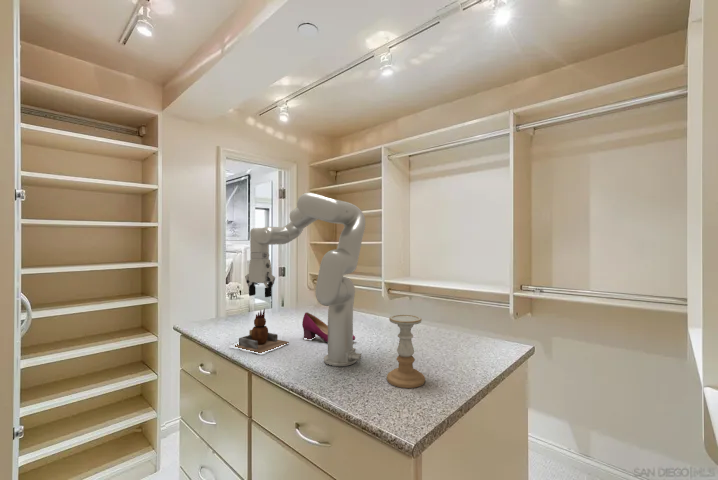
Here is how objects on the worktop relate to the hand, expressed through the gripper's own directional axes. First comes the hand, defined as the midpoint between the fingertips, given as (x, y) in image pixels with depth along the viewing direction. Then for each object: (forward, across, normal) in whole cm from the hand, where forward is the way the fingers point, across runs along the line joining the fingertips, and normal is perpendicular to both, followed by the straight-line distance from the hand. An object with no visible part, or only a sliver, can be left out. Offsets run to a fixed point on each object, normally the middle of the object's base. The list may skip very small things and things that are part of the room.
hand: (260, 296), depth 140 cm
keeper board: (+22, +1, 0) cm, 22 cm away
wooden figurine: (+21, 0, 0) cm, 21 cm away
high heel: (+22, -21, -21) cm, 37 cm away
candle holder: (+23, -67, +1) cm, 71 cm away
